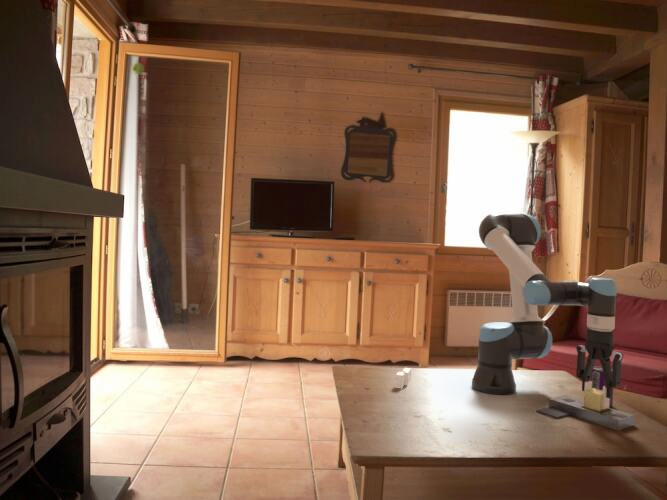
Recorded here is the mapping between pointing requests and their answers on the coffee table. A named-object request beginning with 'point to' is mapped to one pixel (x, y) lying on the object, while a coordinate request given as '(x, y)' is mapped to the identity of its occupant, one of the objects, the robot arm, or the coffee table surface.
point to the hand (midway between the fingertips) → (596, 405)
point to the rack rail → (593, 413)
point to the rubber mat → (553, 412)
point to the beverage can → (599, 380)
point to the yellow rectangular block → (594, 400)
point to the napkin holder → (403, 377)
